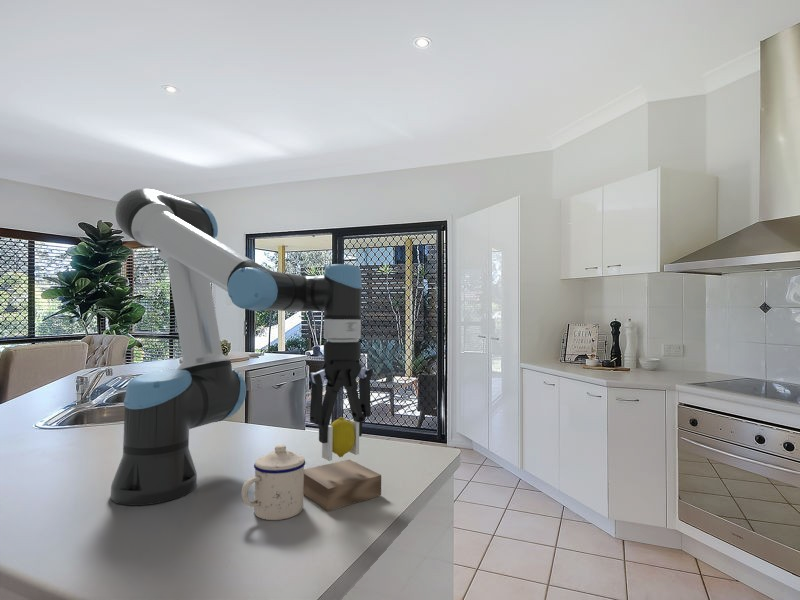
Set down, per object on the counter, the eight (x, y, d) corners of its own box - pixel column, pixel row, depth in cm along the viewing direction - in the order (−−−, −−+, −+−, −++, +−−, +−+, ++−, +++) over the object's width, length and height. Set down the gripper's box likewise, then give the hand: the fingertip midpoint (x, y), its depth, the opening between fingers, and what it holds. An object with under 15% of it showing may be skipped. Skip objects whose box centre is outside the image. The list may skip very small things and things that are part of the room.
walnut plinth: (327, 511, 81) (328, 488, 81) (298, 490, 91) (299, 470, 91) (381, 495, 89) (381, 475, 89) (348, 477, 98) (349, 459, 98)
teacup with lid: (284, 496, 88) (286, 436, 88) (314, 509, 82) (315, 445, 82) (227, 516, 78) (229, 449, 79) (256, 533, 73) (258, 460, 73)
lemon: (352, 461, 87) (353, 420, 87) (324, 461, 87) (325, 420, 87) (356, 453, 93) (356, 414, 93) (329, 452, 93) (330, 414, 93)
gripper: (309, 342, 82) (307, 470, 81) (389, 340, 94) (388, 452, 93) (292, 340, 88) (289, 459, 87) (369, 338, 99) (368, 443, 99)
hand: (340, 455), depth 90 cm, fingers closed on lemon, 5 cm apart
